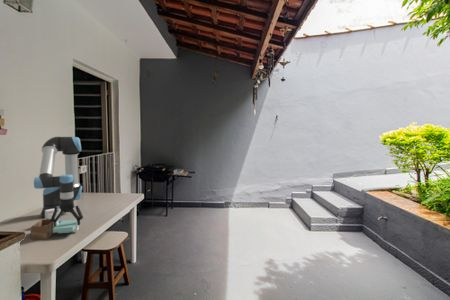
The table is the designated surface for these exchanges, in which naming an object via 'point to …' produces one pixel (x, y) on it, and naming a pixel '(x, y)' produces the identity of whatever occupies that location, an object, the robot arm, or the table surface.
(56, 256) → the table surface
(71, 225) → the lid
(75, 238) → the table surface
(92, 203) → the table surface
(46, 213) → the ink box
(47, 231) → the crate
